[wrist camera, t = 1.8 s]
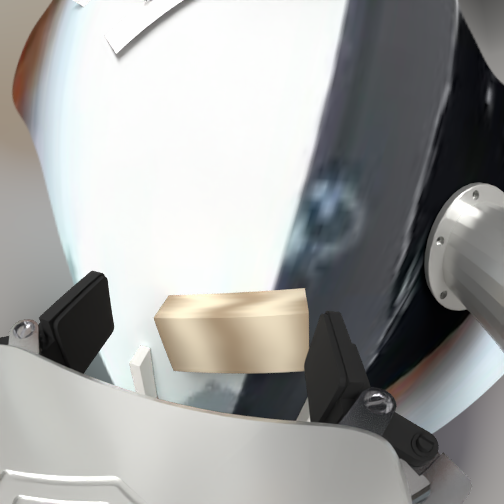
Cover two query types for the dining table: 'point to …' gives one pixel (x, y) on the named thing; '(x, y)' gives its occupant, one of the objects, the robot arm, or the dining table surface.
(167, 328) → the birch block
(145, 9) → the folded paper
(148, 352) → the walled lane
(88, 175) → the dining table surface
